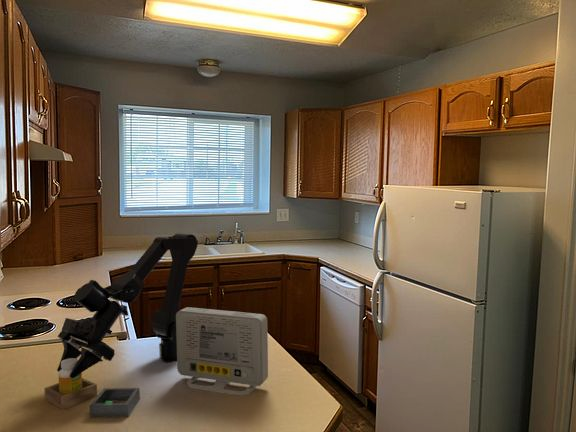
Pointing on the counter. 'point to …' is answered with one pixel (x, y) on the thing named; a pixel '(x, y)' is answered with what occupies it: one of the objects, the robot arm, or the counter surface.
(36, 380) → the counter surface
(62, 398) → the holder sleeve
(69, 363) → the supplement bottle
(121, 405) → the dock collar
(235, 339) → the network device
